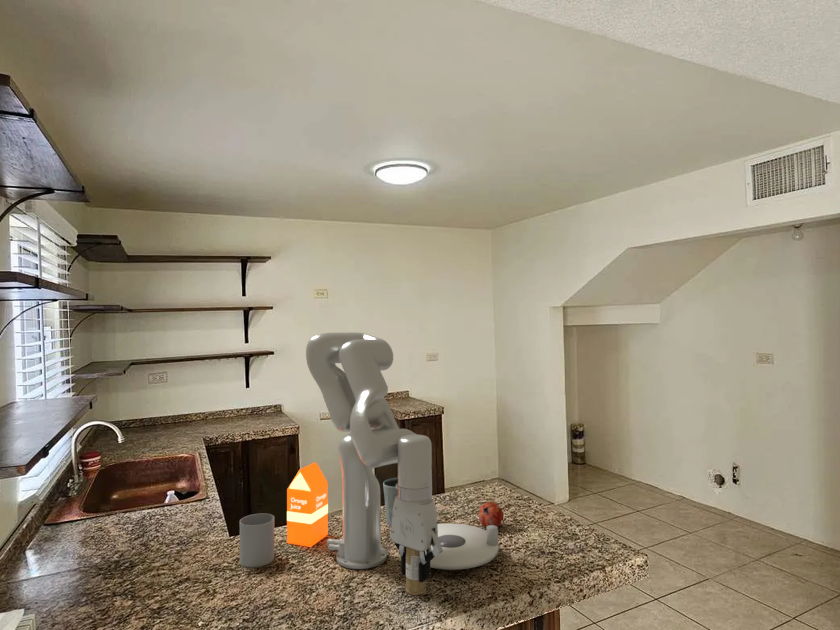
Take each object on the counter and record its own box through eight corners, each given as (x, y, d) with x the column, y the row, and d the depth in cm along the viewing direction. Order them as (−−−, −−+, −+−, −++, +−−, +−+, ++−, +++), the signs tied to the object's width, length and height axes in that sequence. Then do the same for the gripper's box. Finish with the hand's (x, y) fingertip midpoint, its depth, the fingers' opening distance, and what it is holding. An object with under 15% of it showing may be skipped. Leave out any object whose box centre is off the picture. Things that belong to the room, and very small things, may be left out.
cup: (280, 559, 128) (280, 519, 129) (250, 570, 122) (250, 528, 123) (263, 549, 134) (263, 511, 135) (233, 560, 128) (233, 519, 129)
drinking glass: (416, 529, 147) (416, 487, 148) (381, 529, 147) (381, 487, 148) (417, 516, 157) (417, 477, 158) (384, 516, 157) (384, 477, 158)
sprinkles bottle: (404, 586, 114) (404, 525, 115) (425, 585, 115) (424, 524, 115) (406, 597, 110) (405, 533, 110) (427, 595, 110) (426, 532, 110)
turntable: (394, 574, 119) (394, 542, 119) (411, 534, 143) (411, 507, 143) (498, 581, 115) (498, 547, 116) (498, 538, 139) (498, 510, 139)
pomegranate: (486, 528, 153) (466, 514, 148) (498, 506, 155) (479, 491, 150) (503, 539, 147) (483, 525, 142) (516, 517, 149) (496, 501, 144)
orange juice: (286, 543, 138) (286, 468, 139) (304, 531, 146) (304, 460, 147) (311, 547, 135) (311, 471, 136) (328, 534, 144) (328, 462, 144)
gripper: (375, 489, 115) (375, 571, 115) (435, 504, 105) (436, 595, 104) (397, 481, 121) (397, 559, 120) (456, 495, 110) (456, 581, 110)
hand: (415, 575), depth 112 cm, fingers closed on sprinkles bottle, 4 cm apart
